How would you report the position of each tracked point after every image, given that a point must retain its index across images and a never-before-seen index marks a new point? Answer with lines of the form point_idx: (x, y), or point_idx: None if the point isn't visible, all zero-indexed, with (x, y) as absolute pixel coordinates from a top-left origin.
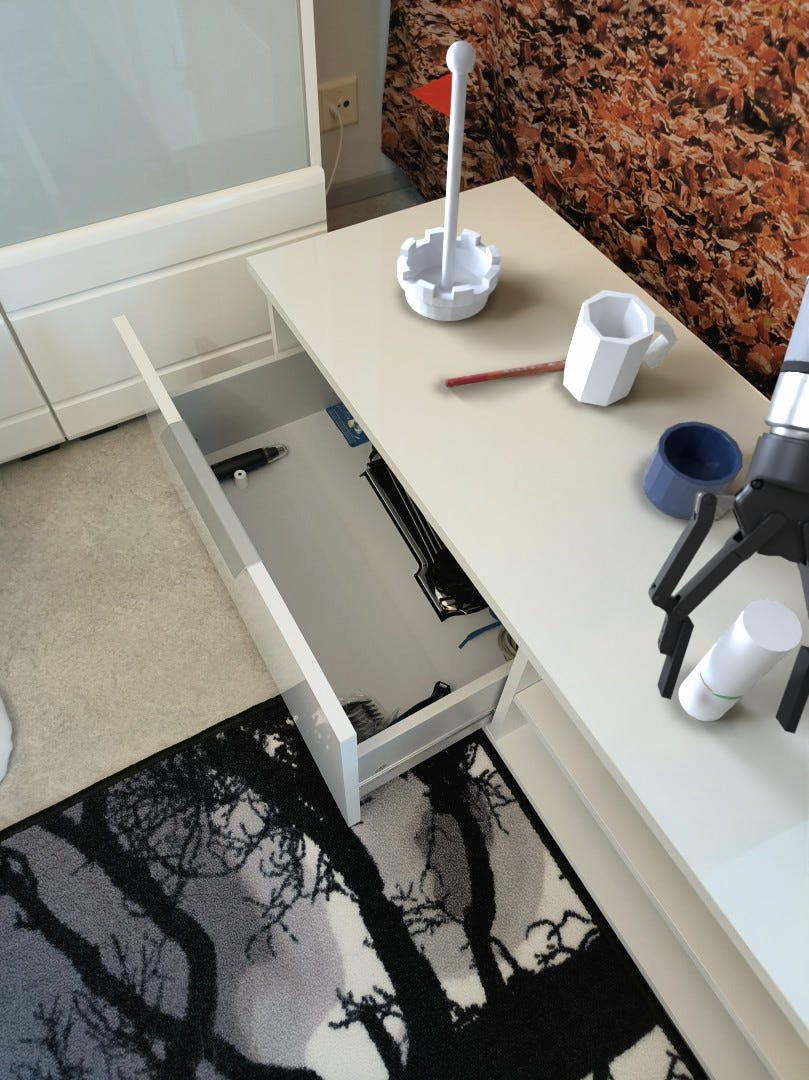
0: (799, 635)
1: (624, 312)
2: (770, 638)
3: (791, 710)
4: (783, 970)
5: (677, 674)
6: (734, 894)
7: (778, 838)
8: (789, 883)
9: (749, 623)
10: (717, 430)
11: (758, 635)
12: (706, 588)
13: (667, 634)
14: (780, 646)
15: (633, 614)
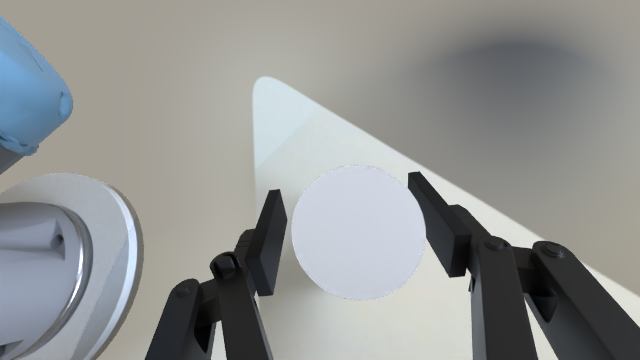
0: (296, 223)
1: None
2: (353, 191)
3: (276, 204)
4: (262, 78)
5: (421, 188)
6: (296, 104)
7: (270, 151)
8: (260, 126)
9: (405, 208)
10: None
11: (379, 187)
12: (499, 299)
13: (472, 223)
14: (331, 180)
15: (450, 324)
